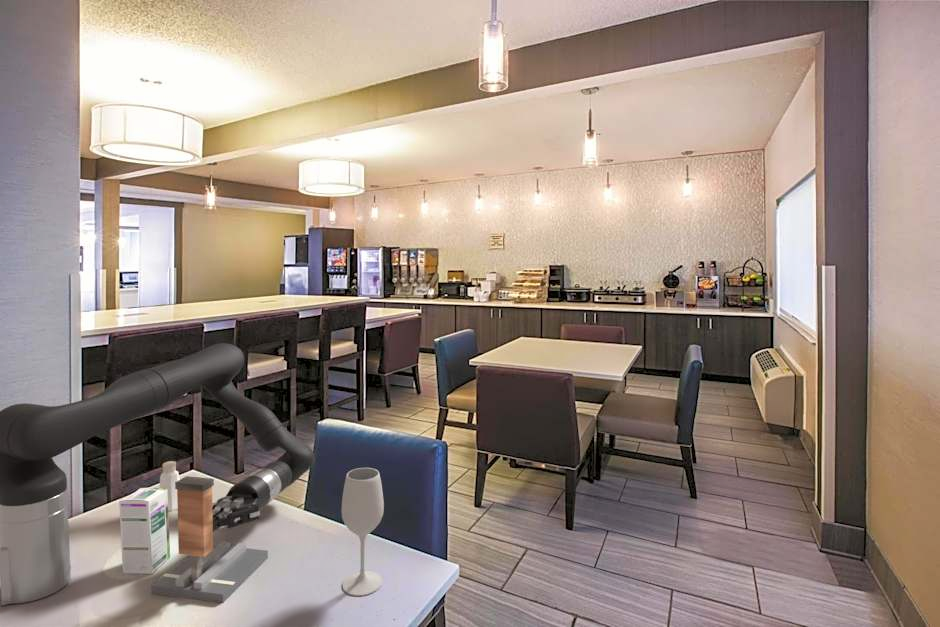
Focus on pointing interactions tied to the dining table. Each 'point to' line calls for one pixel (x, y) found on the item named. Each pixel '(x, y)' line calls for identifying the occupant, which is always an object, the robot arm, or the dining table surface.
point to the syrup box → (144, 530)
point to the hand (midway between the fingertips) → (200, 532)
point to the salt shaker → (170, 483)
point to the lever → (195, 520)
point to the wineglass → (362, 522)
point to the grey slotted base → (212, 573)
